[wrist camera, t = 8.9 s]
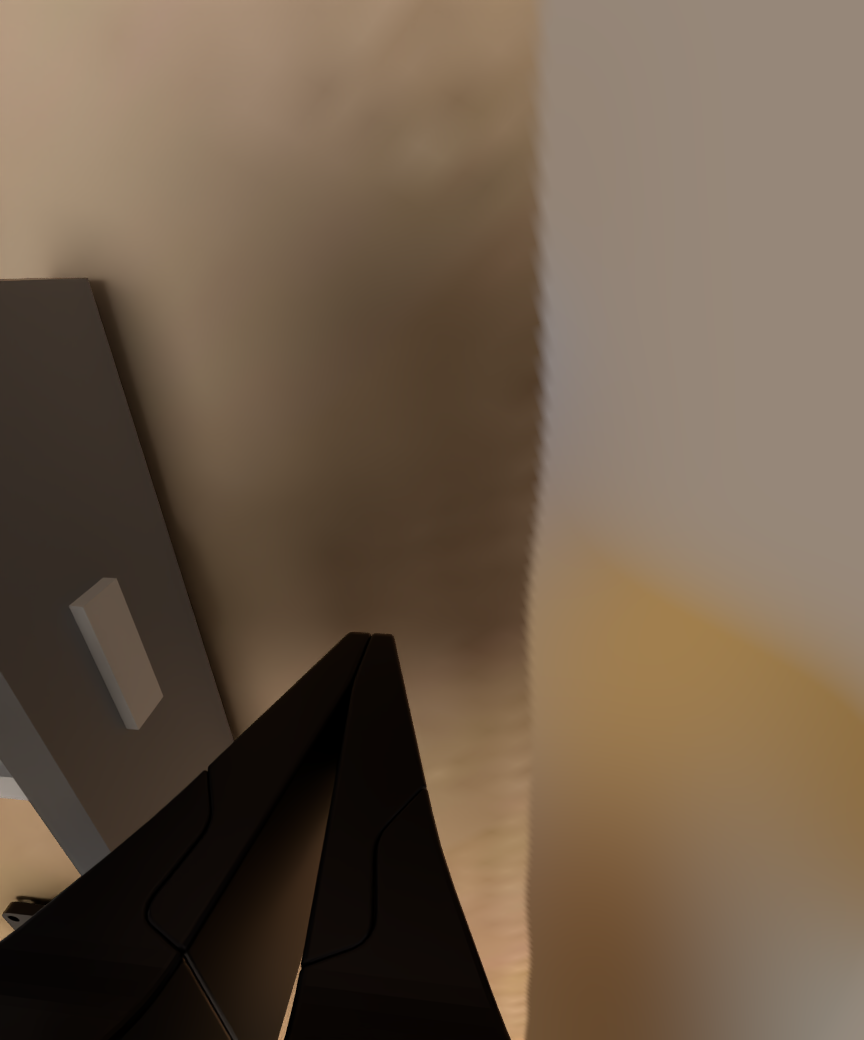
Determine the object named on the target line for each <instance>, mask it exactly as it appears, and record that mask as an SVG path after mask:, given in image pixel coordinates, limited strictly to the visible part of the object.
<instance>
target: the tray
mask: <svg viewBox="0 0 864 1040" xmlns="http://www.w3.org/2000/svg"><path fill="white" fill-rule="evenodd" d="M233 742H234V740H233V737H232V734H231V730H230V727H229V724H228V721H227V718H226V715H225V711H224V708H223V705H222V702H221V699H220V696H219V692H218V689H217V686H216V683H215V680H214V677H213V673H212V670H211V667H210V664H209V661H208V658H207V654H206V651H205V648H204V645H203V642H202V638H201V635H200V632H199V629H198V626H197V623H196V619H195V616H194V613H193V610H192V607H191V604H190V600H189V597H188V594H187V591H186V588H185V585H184V581H183V578H182V575H181V572H180V569H179V566H178V562H177V559H176V556H175V553H174V550H173V546H172V543H171V540H170V537H169V534H168V531H167V527H166V524H165V521H164V518H163V515H162V512H161V508H160V505H159V502H158V499H157V496H156V493H155V489H154V486H153V483H152V480H151V477H150V474H149V470H148V467H147V464H146V461H145V458H144V454H143V451H142V448H141V445H140V442H139V439H138V435H137V432H136V429H135V426H134V423H133V420H132V416H131V413H130V410H129V407H128V404H127V401H126V397H125V394H124V391H123V388H122V385H121V382H120V378H119V375H118V372H117V369H116V366H115V363H114V359H113V356H112V353H111V350H110V347H109V343H108V340H107V337H106V334H105V331H104V328H103V324H102V321H101V318H100V315H99V312H98V309H97V305H96V302H95V299H94V296H93V293H92V290H91V286H90V283H89V280H88V278H27V279H0V798H8V799H19V800H29V802H30V803H31V804H32V806H33V807H34V809H35V810H36V812H37V813H38V814H39V816H40V817H41V819H42V820H43V822H44V823H45V824H46V826H47V827H48V829H49V830H50V832H51V833H52V835H53V836H54V837H55V839H56V840H57V842H58V843H59V845H60V846H61V847H62V849H63V850H64V852H65V853H66V855H67V856H68V858H69V859H70V860H71V862H72V863H73V865H74V866H75V868H76V869H77V870H78V872H79V873H80V875H81V876H82V875H84V874H85V873H86V872H87V871H88V870H90V869H91V868H92V867H93V866H95V865H96V864H97V863H98V862H100V861H101V860H102V859H103V858H104V857H106V856H107V855H108V854H109V853H111V852H112V851H113V850H114V849H115V848H117V847H118V846H119V845H120V844H121V843H123V842H124V841H125V840H126V839H127V838H129V837H130V836H131V835H132V834H133V833H134V832H136V831H137V830H138V829H139V828H140V827H142V826H143V825H144V824H145V823H146V822H148V821H149V820H150V819H151V818H152V817H153V816H154V815H156V814H157V813H158V812H159V811H160V810H161V809H162V808H163V807H164V806H165V805H167V804H168V803H169V802H170V801H171V800H172V799H173V798H174V797H175V796H176V795H178V794H179V793H180V792H181V791H182V790H183V789H184V788H185V787H186V786H187V785H188V784H189V783H191V782H192V781H193V780H194V779H195V778H196V777H197V776H198V775H199V774H200V773H201V772H202V771H203V770H207V771H208V766H209V765H210V764H211V763H212V762H213V761H214V760H215V759H216V758H217V757H218V756H219V755H220V754H221V753H222V752H223V751H225V750H226V749H227V748H228V747H229V746H230V745H231V744H232V743H233Z"/></svg>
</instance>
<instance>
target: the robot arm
mask: <svg viewBox="0 0 864 1040" xmlns="http://www.w3.org/2000/svg"><path fill="white" fill-rule="evenodd" d="M2 916H3V918H4V919H5V920H6V921H7V922H8V923H9V924H10V925H11V926H12V928H13V929H14V930H15V931H13V932H12V933H11V934H9V935H8V936H7V937H5V938H4V939H3V940H2V941H0V1040H278V1037H279V1033H280V1030H281V1027H282V1023H283V1020H284V1016H285V1013H286V1009H287V1006H288V1003H289V999H290V996H291V992H292V989H293V985H294V982H295V979H296V975H297V972H298V968H299V965H300V961H301V958H302V961H301V968H302V969H301V971H300V973H299V978H298V983H297V988H296V993H295V997H294V1002H293V1006H292V1011H291V1015H290V1019H289V1023H288V1027H287V1031H286V1035H285V1038H284V1040H511V1039H510V1036H509V1034H508V1032H507V1029H506V1027H505V1024H504V1022H503V1019H502V1016H501V1014H500V1011H499V1009H498V1006H497V1003H496V1001H495V998H494V996H493V993H492V990H491V987H490V985H489V982H488V979H487V976H486V973H485V971H484V968H483V965H482V962H481V960H480V957H479V954H478V951H477V949H476V946H475V943H474V940H473V937H472V935H471V932H470V929H469V926H468V924H467V921H466V918H465V915H464V912H463V910H462V907H461V904H460V901H459V899H458V896H457V893H456V890H455V887H454V884H453V881H452V878H451V875H450V872H449V869H448V866H447V863H446V860H445V857H444V854H443V851H442V847H441V844H440V840H439V836H438V832H437V828H436V824H435V820H434V816H433V812H432V807H431V803H430V798H429V794H428V791H427V786H426V781H425V776H424V772H423V767H422V763H421V758H420V753H419V749H418V744H417V740H416V735H415V731H414V726H413V721H412V717H411V712H410V708H409V703H408V699H407V694H406V689H405V685H404V680H403V676H402V671H401V667H400V662H399V657H398V653H397V648H396V644H395V639H394V636H393V635H392V634H380V633H374V634H373V635H372V636H371V634H369V633H363V632H350V633H348V634H347V635H346V636H345V637H344V638H343V639H342V640H341V641H340V642H338V643H337V644H336V645H335V646H334V647H333V648H332V649H331V650H330V651H329V652H328V653H327V654H326V655H325V656H324V657H323V658H322V659H321V660H319V661H318V662H317V663H316V664H315V665H314V666H313V667H312V668H311V669H310V670H309V671H308V672H307V673H306V674H305V675H304V676H303V677H302V678H300V679H299V680H298V681H297V682H296V683H295V684H294V685H293V686H292V687H291V688H290V689H289V690H288V691H287V692H286V693H285V694H284V695H283V696H281V697H280V698H279V699H278V700H277V701H276V702H275V703H274V704H273V705H272V706H271V707H270V708H269V709H268V710H267V711H266V712H265V713H264V714H263V715H261V716H260V717H259V718H258V719H257V720H256V721H255V722H254V723H253V724H252V725H251V726H250V727H249V728H248V729H247V730H246V731H245V732H244V733H242V734H241V735H240V736H239V737H238V738H237V739H236V740H235V741H234V742H233V743H232V744H231V745H230V746H229V747H228V748H227V749H226V750H225V751H223V752H222V753H221V754H220V755H219V756H218V757H217V758H216V759H215V760H214V761H213V762H212V763H211V764H210V765H209V766H208V771H207V770H203V771H202V772H201V773H200V774H199V775H198V776H197V777H196V778H195V779H194V780H193V781H192V782H191V783H189V784H188V785H187V786H186V787H185V788H184V789H183V790H182V791H181V792H180V793H179V794H178V795H176V796H175V797H174V798H173V799H172V800H171V801H170V802H169V803H168V804H167V805H165V806H164V807H163V808H162V809H161V810H160V811H159V812H158V813H157V814H156V815H154V816H153V817H152V818H151V819H150V820H149V821H148V822H146V823H145V824H144V825H143V826H142V827H140V828H139V829H138V830H137V831H136V832H134V833H133V834H132V835H131V836H130V837H129V838H127V839H126V840H125V841H124V842H123V843H121V844H120V845H119V846H118V847H117V848H115V849H114V850H113V851H112V852H111V853H109V854H108V855H107V856H106V857H104V858H103V859H102V860H101V861H100V862H98V863H97V864H96V865H95V866H93V867H92V868H91V869H90V870H88V871H87V872H86V873H85V874H84V875H82V876H81V877H80V878H79V879H77V880H76V881H75V882H74V883H72V884H71V885H70V886H69V887H67V888H66V889H65V890H64V891H63V892H61V893H60V894H59V895H58V896H56V897H55V898H54V899H53V900H51V901H50V902H49V903H48V904H47V905H39V904H30V903H22V902H12V903H10V905H9V906H8V907H7V909H6V910H5V911H4V913H3V914H2ZM302 955H303V956H302Z"/></svg>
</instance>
